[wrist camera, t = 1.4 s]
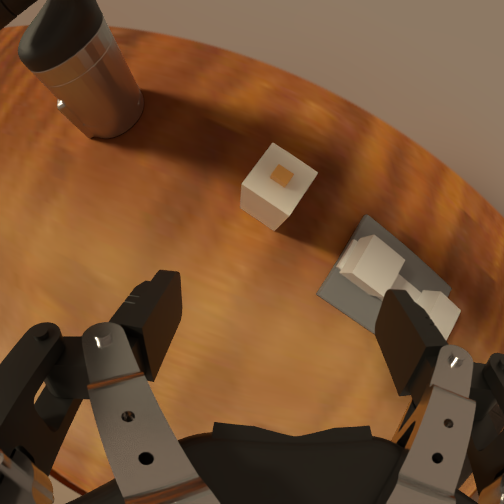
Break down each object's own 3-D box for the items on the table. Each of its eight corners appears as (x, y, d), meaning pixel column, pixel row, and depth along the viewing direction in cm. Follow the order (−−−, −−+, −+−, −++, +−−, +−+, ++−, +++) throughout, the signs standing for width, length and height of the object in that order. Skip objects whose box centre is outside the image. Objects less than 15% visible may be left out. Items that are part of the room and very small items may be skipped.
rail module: (239, 207, 35) (241, 180, 24) (262, 175, 35) (274, 137, 24) (274, 231, 35) (291, 213, 24) (296, 198, 35) (321, 169, 24)
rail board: (315, 294, 35) (330, 298, 29) (363, 215, 36) (384, 206, 30) (410, 358, 35) (432, 369, 29) (447, 288, 36) (472, 289, 30)
